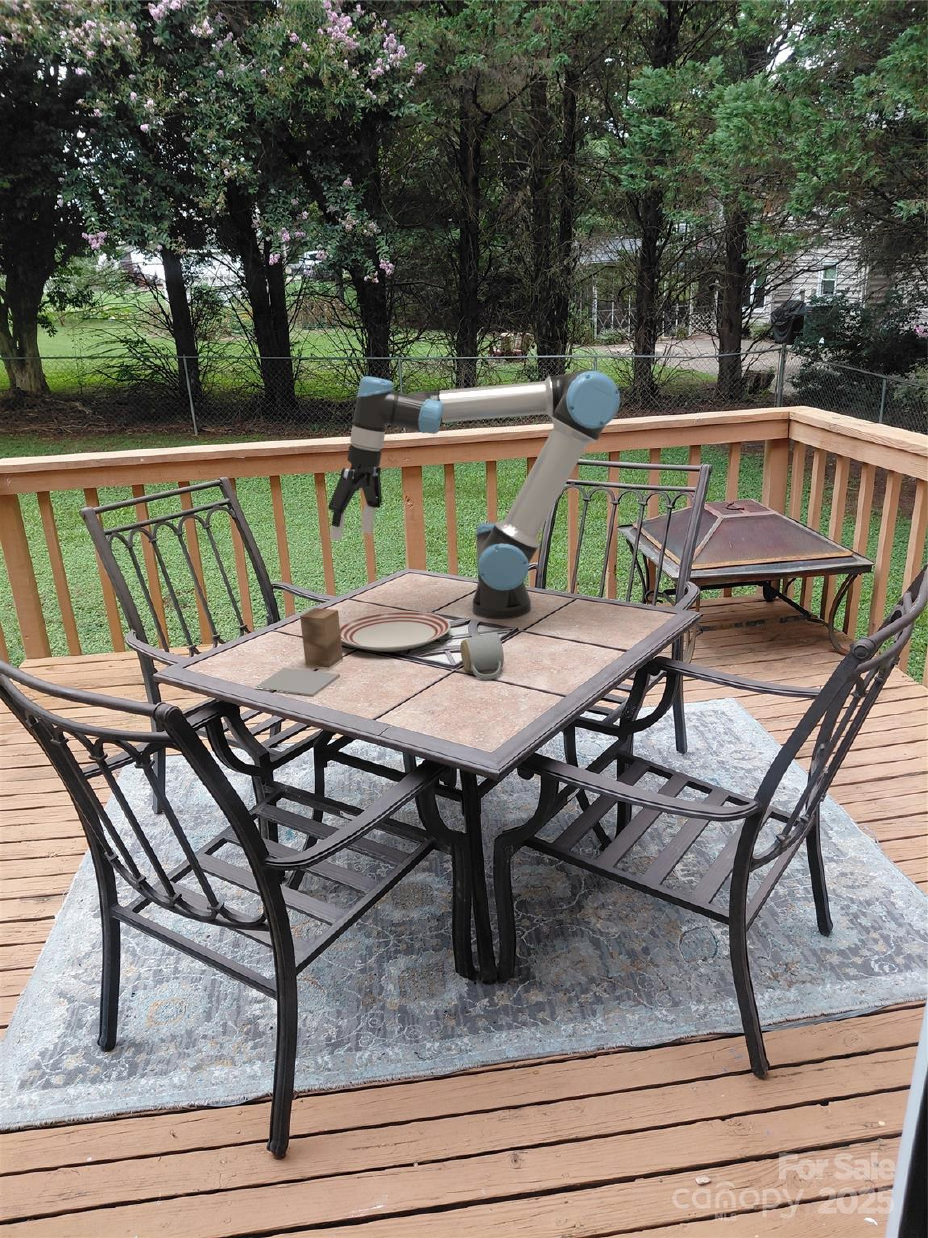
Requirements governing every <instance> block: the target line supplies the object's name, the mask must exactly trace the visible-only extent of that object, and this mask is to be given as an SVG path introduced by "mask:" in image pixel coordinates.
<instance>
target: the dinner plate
mask: <svg viewBox="0 0 928 1238" xmlns="http://www.w3.org/2000/svg"><path fill="white" fill-rule="evenodd" d="M450 629H451V622H450V621H449V620H448V619H447V618H445V617H443V616H441V615H438V614H435V613H430V612H423V611H414V610H413V611H412V610H411V611H407V610H405V611H404V610H403V611H396V610H395V611H386V612H385V611H384V612H377V613H372V614H366V615H363V616H358V617H354V618H353V619H350V620H348V621H346V622H343V623H342V624H341V625H340V635H341V643H343V644H346V645H349V646H351V647H354V648H358V649H362V650H366V651H367V650H368V651H372V652H379V653H380V652H382V653H384V652H385V653H391V652H394V653H395V652H403V651H409V650H412V649H416V648H420V647H422V646H424V645H427V644H430V643H432V642H434V641H437V640H438V639H440V638H441V637H443V636H445V635H446V634H447V633H449V631H450ZM408 649H409V650H408Z"/></svg>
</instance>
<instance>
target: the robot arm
mask: <svg viewBox="0 0 928 1238" xmlns="http://www.w3.org/2000/svg"><path fill="white" fill-rule="evenodd" d="M620 404H621V397H620V391H619V388H618V387H617V385H616V383H615V381H614V380H613V379H612V377H610V376H609V375H607V374H606V373H603V372H601V371H598V370H592V369H581V370H577V371H573V372H570V373H564V374H560V375H559V374H558V375H548V376H547V377H546V379H545V380H544V381H543V380H541V381H531V382H522V383H513V384H512V383H509V384H498V385H488V386H476V387H466V388H464V387H463V388H454V389H444V390H443V389H442V390H433V391H432V390H431V391H423V390H419V391H414V392H412V393H410V394H409V393H408V394H407V393H403V392H399V391H397V390H394V383H393V381H391V380H389V379H384V378H380V377H376V376H375V377H374V376H363V377H362V378H361V379H360V381H359V385H358V390H357V394H356V400H355V408H354V414H353V420H352V421H353V422H352V428H351V436H350V439H349V442H350V445H349V446H348V452H347V458H346V459H347V462H349V463H350V464H351V465H350V468H346V467H343V468H342V469H341V473H340V477H339V480H338V483H337V485H336V487H335V489H334V491H333V494H332V496H331V498H330V500H329V504H328V506H327V508H328V510H329V511H332V512H333V514H332V519H331V520H332V521H331V527H330V532H329V533H330V534H329V539H331V540H333V541H336V542H342V538H343V531H344V526H345V521H346V520H345V519H346V513H345V511H346V508H347V507H348V506H349V503H350V502H351V501H352V499H353V496H354V495H355V493H356V492H358V491H359V490H360V489H361V488H362V491H363V495H364V498H365V502H366V504H365V505H364V507H363V513H362V517H361V525H360V531H359V532H362V533H365V534H368V535H371V534H372V530H373V524H374V519H375V513H376V508H377V509H380V507H381V504H382V502H383V496H382V484H381V483H382V482H381V472H382V467H380V465H381V464H380V463H381V460H382V459H381V458H382V455H383V454H382V450H381V449H383V448H384V442H385V441H384V440H385V437H386V435H385V434H386V430H387V425H390V426H394V427H399V428H401V429H402V428H403V429H407V430H410V431H411V430H412V431H415V432H419V433H422V434H433V435H435V434H438V433H439V432H440V427H441V426H440V425H441V424H442V423H450V422H451V423H453V422H454V423H455V422H463V421H464V422H465V421H477V420H490V419H499V418H502V419H503V418H511V417H522V416H523V417H525V416H534V415H535V416H536V415H538V416H539V415H547V416H548V417H549V418H551V421H552V425H553V428H552V430H551V432H550V433H549V436H548V437H547V439H546V440H545V442H544V445H543V447H541V450H540V452H539V454H538V456H537V458H536V460H535V461H534V463H533V465H532V468H531V469H530V471H529V473H528V475H527V477H526V479H525V480H524V482H523V484H522V486H521V488H520V490H519V492H518V494H517V496H516V497H515V499H514V501H513V503H512V505H511V506H510V508H509V511H508V512H507V514H506V517H504V519H501V520H499V521H491V522H489V521H488V522H484V523H483V522H482V523H479V524H477V526H476V528H475V529H476V532H475V537H476V555H477V556H476V560H477V564H476V566H477V578H478V579H477V585H476V588H475V592H474V595H473V598H472V599H473V600H472V603H471V604H472V612H473V614H475V615H477V616H480V617H482V618H489V619H491V618H492V619H507V618H509V619H511V618H516V617H521V616H523V615H526V614H527V613H529V612H530V611H531V610H532V605H531V604H532V601H531V597H530V595H529V593H528V589H527V586H526V583H525V579H526V578H527V576H528V573H529V571H530V569H529V568H530V564H531V561H532V559H533V558H534V555H535V554H536V552H537V550H538V549H539V546H540V545H539V541H538V535H539V533H540V532H541V530H542V527H543V526H544V524H545V523H546V520H547V519H548V517H549V515H550V513H551V511H552V509H553V508H554V506H555V505H556V502H557V501H558V499H559V496H560V495H561V493H562V491H563V490H564V487H565V486H566V483H567V481H568V480H569V478H570V476H571V474H572V473H573V471H574V470H575V467H576V466H577V464H578V462H579V460H580V458H581V457H582V455H583V454H584V451H585V449H586V448H587V446H589V445H590V444H594V443H596V442H597V441H598V439H599V437H600V436H601V434H602V432H603V430H604V428H605V426H606V425H609V424H610V422H612V420H613V419H615V416H617V414H618V410H619V408H620Z"/></svg>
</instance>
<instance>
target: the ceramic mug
mask: <svg viewBox="0 0 928 1238" xmlns="http://www.w3.org/2000/svg"><path fill="white" fill-rule="evenodd" d="M460 657H461V661H462V666H463V668H464V670H466V671H467V672H472V673H473V674H474V676H476V678H478V679H480V680H483V681H490V680H496V679H497V678H498V676H499V675H500V673H501V670H502V669H503V667H504V665H505V664H504V662H505V660H504V659H505V656H504V649H503V644H502V641H501V638H500V635H499V634H498V633H497V632H491V633H487V634H482V635H477V636H473V637H472V636H471V637H467V638H465V639H463V640H462V641H461V643H460ZM489 670H495V671H494V672H493V673H489V674H483V673H480V672H481V671H489Z"/></svg>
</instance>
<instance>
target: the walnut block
mask: <svg viewBox="0 0 928 1238" xmlns="http://www.w3.org/2000/svg"><path fill="white" fill-rule="evenodd" d="M299 619H300V626H301V627H300V628H301V636H302V638H301V639H302V646H303V653H304V654H303V656H304V662H305V668H306V667H307V668H306V669H313V668H314V669H316V670H322V669H326V670H325V671H331V670H332V669H334V668H335V667H336V666H338V665H339V664H340V663H342V662H343V661H344V658H343V656H344V655H343V648H342V647H343V646H342V641H341V635H340V626H341V625H340V617H339V609H330V608H329V609H328V608H318V607H315V608H312V609H311V610H309V611H306V612H305V613H303V614H301V615H300V616H299Z"/></svg>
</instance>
